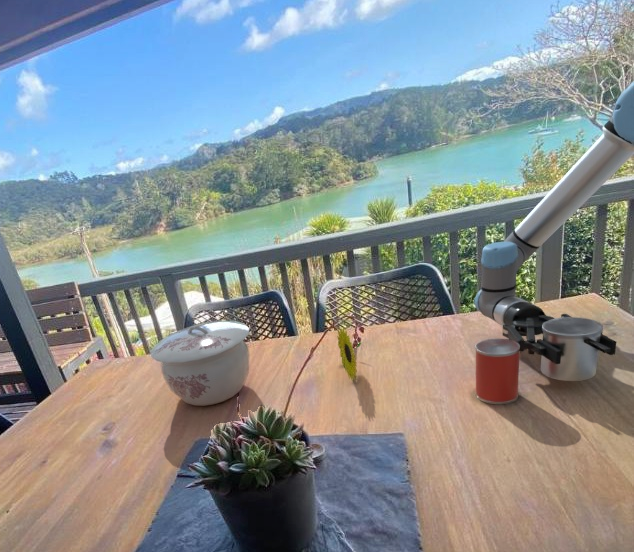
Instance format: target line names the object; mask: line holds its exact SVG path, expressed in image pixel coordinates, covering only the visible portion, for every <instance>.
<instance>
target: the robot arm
mask: <svg viewBox="0 0 634 552" xmlns="http://www.w3.org/2000/svg"><path fill="white" fill-rule="evenodd" d="M633 156H634V80H633V81H632V82H631V83H630V84H628V85H627V86H626V87H625V88H624V89H623V90H622V91H621V93H620V95H619V96H618V98H617V100H616V101H615V104H614V107H613V109H612V116H611V117H610V118H609V119H608V120H607V122H606V123H605V124H604V125H603V126H602V133H601V135H600V137H598V138H597V139H596V141H595V142H594V143H593V144H592V145H591V146H590V147H589V148H588V150H587V151H586V152H585V153H584V154H583V155H582V156H581V157H580V158H579V159H578V160H577V161H576V162H575V164H574V165H572V167H571V168H570V169H569V170H568V171H567V172H566V173H565V174H564V176H563V177H562V178H561V179H560V180H559V181H558V182H557V183H556V184H555V185H554V186H553V187H552V188H551V189H550V191H549V192H547V194H546V195H545V196H544V197H543V198H542V199H541V200H540V202H538V204H536V206H535V207H534V208H533V209H532V210H531V211H530V212H529V213H528V214H527V216H526V217H525V218H523V220H522V221H521V222H520V223H519V224H518V225H517V226H516V227H515V229H514V230H513V231H512V232H511V233H510V234H509V235H508V236H507V237H506V238H505V239H504V240H503V241H497V242H492V243H489V244H486V245H484V247H483V248H482V251H481V252H482V253H481V259H480V263H481V289H480V290H479V291H477V294H476V296H475V297H474V306H475V308H476V310H477V311H478V312H480V313H481V314H482V315H483V316H484V317H486V318H488V319H491V320H492V321H494V322H496V323H497V324H499V325H500V326H502V336H503V337H505V338H506V339H508V340H512V341H515V342H517V343H518V344H519V345H520V352H524V351H525V350H527V354H528V355H534V354H537V355H538V356H541V357H542V356H544V357H545V358H547V359H549V360H550V361H552V362H553V363H555V364H560V361H561V351H560V350H559V349H557V348H555V347H554V346H552V345H550V344H548V343H547V342H545V341H543V338H538V339H536V336H539V335H543V331H542V325H543V323H545V322H546V321H549V320H552V319H556V318H557V317H556V318H555V317H553V316H550V315H547V314H546V313H545V312H544V310H543V309H542V308H541V307H540V306H537V305H535V304H533V303H531V302H529V301H527V300H525V299H523V298H521V297H519V296H517V295H516V292H517V275H518V274H517V273H518V271H519V269H520V268H521V267H522V266H523V265H524V264H525V262H527V261H528V260H529V259H530V257H532V255H533V254H534V253H535V252H536V251H538V250H539V248H540V247H541V246H542V245H543V244H544V243H545V242H546V241H547V240H548V239H549V238H550V237H551V236H553V234H554V233H555V232H557V230H558V229H559V228H561V227H562V225H564V224H565V222H567V221H568V220H569V219H570V218H571V216H573V215H574V214H575V213H576V212H577V211H578V210H579V209H580V208H581V207H582V206H583V205H584V204H585V203H586V202H587V201H588V200H589V199H590V198H591V197H592V196H593V195H594V194H595V193H596V192H597V191H598V190H599V189H600V188H601V187H602V186H603V185H605V183H606V182H607V181H608V180H609V179H611V177H612V176H614V174H615V173H616V172H617V171H618V170H619V169H620V168H621V167H622V166H623V165H625V164H626V163H627V161H628V160H629V159H631V158H632V157H633ZM565 317H572V316H571V315H569V314H567V313H562V314H560V318H565ZM603 332H604V330H603V331H602V333H601V335H600V344H602V345H604V346H606V347H608V348H610V352H608V353H606V354H607V355H609V356H613V355H616V349H617V341H616V340H614V339H612V338H610V337H609V336H607V335H605V334H603ZM524 337H525V338H526V340H525V338H524ZM520 352H519V353H520Z"/></svg>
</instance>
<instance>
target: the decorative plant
mask: <svg viewBox="0 0 634 552" xmlns="http://www.w3.org/2000/svg"><path fill="white" fill-rule="evenodd" d="M337 333H338V334H337V335H336V337H337V341H338V342H337V346H338V349H339V350H340V352H339V356H340V357H341V364H342V367H344V371H345V373H346V374H347V376H348V379H351V382H353V381H354V382H356V378H358V376H357V373H358V369H357V367H358V365H357V362H356V359H357V357H356V356H355V355H356V354H355V353H354V351H355V349H357V348H359V347H360V346H361V345H362V342H358V343H359V344H358V346H357V347H356V348H355V349H354V348H352V344H353V342H351V337H350V334H348V330H347V329H345V327H344V326H342V327H340V328H339V329H337Z"/></svg>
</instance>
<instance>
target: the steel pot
mask: <svg viewBox="0 0 634 552" xmlns="http://www.w3.org/2000/svg"><path fill="white" fill-rule="evenodd" d="M542 331H543V334H542V340H543V341H545V342H547V343H548V344H550V345H552V346H554V347H555V348H557V349H559V350H560V351H561V361H560V364H555V363H553V362H552V361H550V360H549V359H547V358H545V357H544V356H542V355H541V358H540V360H541V361H540V372H541V373H542V374H543V375H544V376H546V377H547V378H550V379H554V380H556V381H565V382H581V381H586V380H590V379H592V378H593V377H595V376H596V374H597V367H598V359H599V351H600V352H601V353H602V354H607V353H608V352H610V348H608V347H606V346H604V345H602V344H600V335H601V333H602V334H603V332H604V324H602V323H601V322H599V321H597V320H595V319H591V318H586V317H577V316H576V317H575V316H571V317H565V318H561V317H556V319H555V318H554V319H552V320H549V321H546V322H545V323H543V325H542ZM602 331H603V332H602Z"/></svg>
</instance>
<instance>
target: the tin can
mask: <svg viewBox="0 0 634 552" xmlns="http://www.w3.org/2000/svg"><path fill="white" fill-rule="evenodd" d="M474 348H475V397H476V398H477V399H478V400H479V401H481V402H483V403H486V404H490V405H508V404H512V403H514V402H516V401H517V400H518V398H519V377H520V376H519V374H520V345H519V344H518V343H517V342H515V341H512V340H509V339H508V338H489V339H483V340H480V341H479V342H477V343H476V344H475V347H474Z"/></svg>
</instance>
